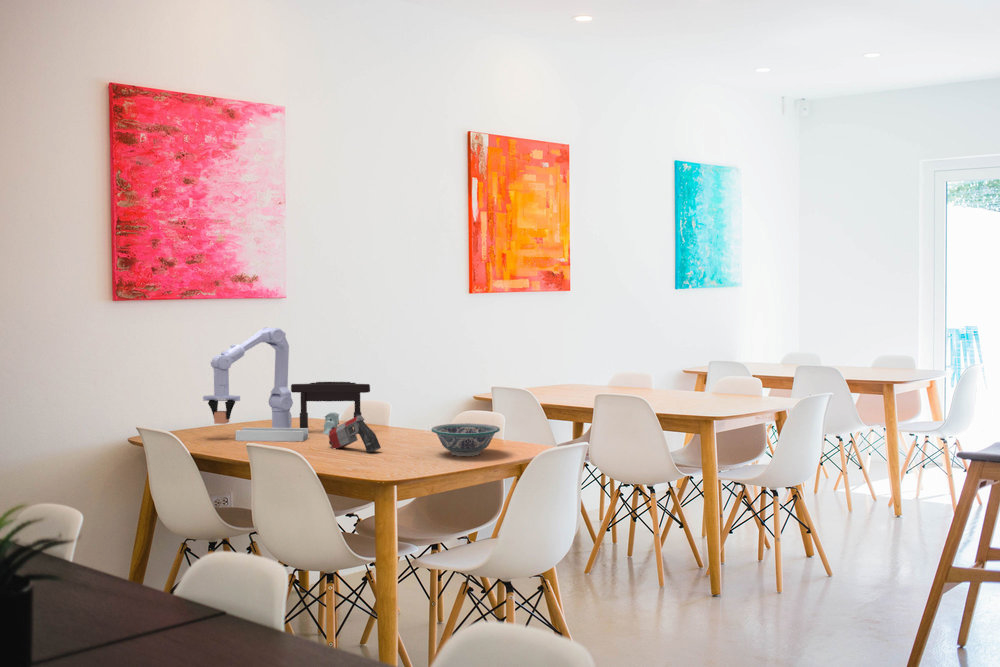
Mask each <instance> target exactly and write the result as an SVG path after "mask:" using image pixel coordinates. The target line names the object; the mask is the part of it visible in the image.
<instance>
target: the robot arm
mask: <svg viewBox="0 0 1000 667" xmlns="http://www.w3.org/2000/svg"><path fill="white" fill-rule="evenodd" d="M286 335H287V334H286V332H285V331H283V329H281V328H279V327H267V326H265V327H263V328H261V329H259V330H258V331H257V332H256V333H254V334H253V335H252V336H250V337H249V338H248V339H246V340H245V341H244V342H242V343H240V344H237V343H236V344H231V345H230V347H229V348H228V349H226V350H225V351H221V354H216V355H214V356H213V357H212V360H211V361H210V366H211V367H212V369H213V392H214V393H213V394H214V395H211V394H210V395H203V396H202V401H203V402H206V401H208V402H207V404H208V406H209V408H210V410H211V412H212V413H211V414H212V416H213V417H214V412H217V411H218V407H219V402H221V401H222V402H223V401H225V403H224V404H225V411H226V418H227V419H229V420H230V419H231V414H232V411H233V408H234V406H235V404H236V402H239V401H241V395H231V394H230V386H229V385H230V384H229V383H230V381H229V380H230V379H229V376H230V375H229V374H230V373H229V372H230V371H229V369H230V368H231V366H232V365H233V364H234V363H235V362H237V361H239V360H240V359H241V358H243V357H244V356H245V352H246V351H248V350H251V349H252V348H254V347H255V346H257V345H259V344H261V343H265V344H267V345H270V346H271V347H272V348H273V349H274V351H275V353H274V354H275V357H274V358H275V359H274V380H273V381H274V384H273V385H274V386H273V388H272V390H271V391H270V396H269V398H268V405H269V407H270V408H271V422H272V423H271V428H293V427H292V413H291V409H292V407H293V404H294V402H293V398H292V392H291V390H290V389H289V387H288V386H289V385H288V383H289V382H288V381H289V356H290V354H289V353H290V345H289V342H288V340H287V337H286Z"/></svg>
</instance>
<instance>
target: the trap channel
mask: <svg viewBox="0 0 1000 667" xmlns="http://www.w3.org/2000/svg"><path fill="white" fill-rule="evenodd" d="M307 438H308V439H309V427H308V428H300V427H292V428H272V427H241V430H239V429H238V430H235V441H237V442H295V441H296V442H297V441H303V442H305V441H307V440H308V439H307Z"/></svg>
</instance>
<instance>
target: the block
mask: <svg viewBox="0 0 1000 667" xmlns="http://www.w3.org/2000/svg"><path fill="white" fill-rule="evenodd" d="M213 421H214V424H215V425H217V424H218V425H225V424H228V423H230V419H227V418H226V410H217V412H214V416H213Z"/></svg>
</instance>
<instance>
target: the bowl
mask: <svg viewBox="0 0 1000 667" xmlns="http://www.w3.org/2000/svg"><path fill="white" fill-rule="evenodd" d="M500 430H501V428H500V426H496V425H491V424H485V423H469V422H468V423H449V424H448V423H447V424H441V425H436V426H433V427H431V432H432V433H434V434H436V435H437V437H438V440H439V441H440V443H441V445H442V447H443V448H444V449H446V450H448V451H449V452H450V454H452V455H451V456H453V455H457V456H456V457H459V456H472V457H475V456H474V455H478V456H480V455H481V451H483V450H485V449H487V448H488V447H489V445H490V444H491V442H492V439H493V437H494V435H495V434H496V433H498V432H500ZM479 454H480V455H479Z"/></svg>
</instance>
